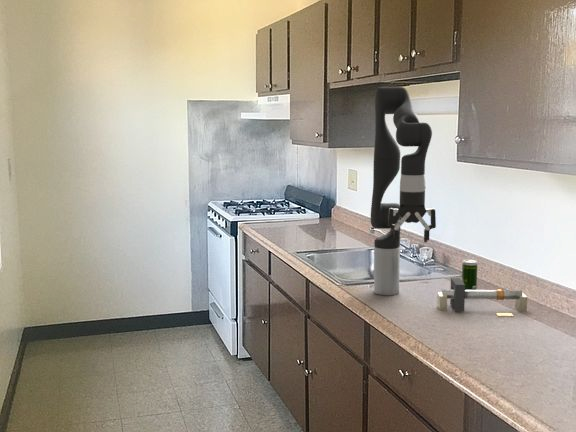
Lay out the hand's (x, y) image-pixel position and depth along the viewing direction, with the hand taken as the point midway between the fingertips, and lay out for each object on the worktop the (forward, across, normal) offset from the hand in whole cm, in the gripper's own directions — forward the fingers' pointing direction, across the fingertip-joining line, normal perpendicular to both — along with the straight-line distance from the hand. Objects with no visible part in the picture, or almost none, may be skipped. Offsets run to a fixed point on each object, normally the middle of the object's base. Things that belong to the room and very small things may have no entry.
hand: (411, 241), depth 198 cm
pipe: (+27, -26, -14) cm, 39 cm away
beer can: (+27, -25, -37) cm, 53 cm away
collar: (+27, -18, -17) cm, 36 cm away
